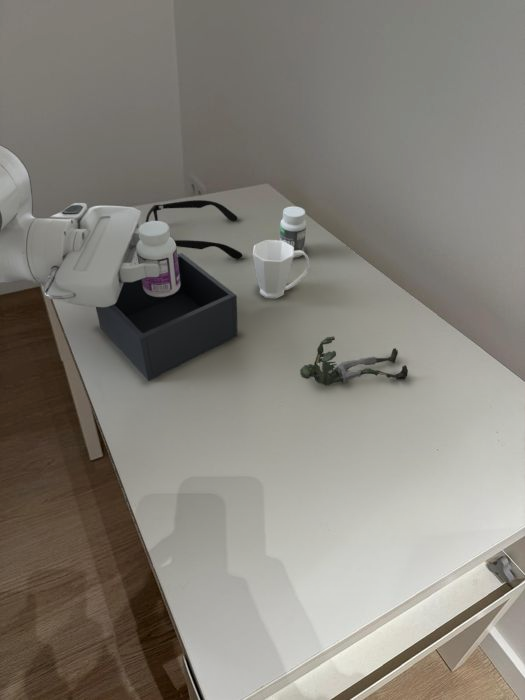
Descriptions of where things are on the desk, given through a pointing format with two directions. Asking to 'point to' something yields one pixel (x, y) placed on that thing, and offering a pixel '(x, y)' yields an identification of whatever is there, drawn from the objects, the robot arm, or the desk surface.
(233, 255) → the glasses
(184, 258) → the bin
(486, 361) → the desk surface
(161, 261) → the pill bottle
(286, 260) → the cup
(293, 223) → the pill bottle
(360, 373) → the zombie figurine
